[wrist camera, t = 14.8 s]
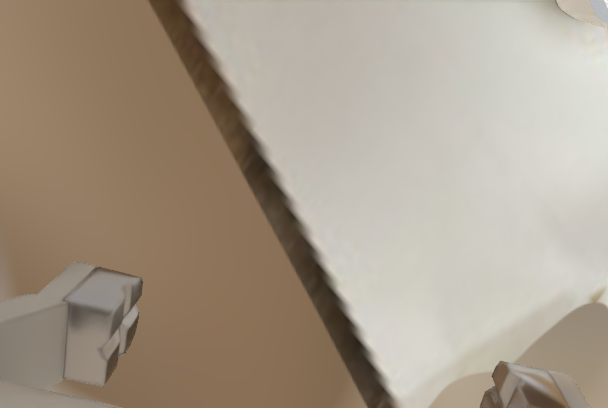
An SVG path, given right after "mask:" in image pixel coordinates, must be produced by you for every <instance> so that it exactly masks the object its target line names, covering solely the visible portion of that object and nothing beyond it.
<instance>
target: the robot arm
mask: <svg viewBox="0 0 608 408" xmlns="http://www.w3.org/2000/svg"><path fill="white" fill-rule="evenodd" d="M142 284H143V281H142V278H141V277H138V276H134V275H130V274H126V273H122V272H118V271H114V270H110V269H106V268H102V267H97V266H95V265H90V264H86V263H80V262H72V263H71V264H70V265H69V266H68V267H66V268H65V269H64V270H63V271H62V272H61V273H60V274H59V275H58V276H57V277H56V278H54V279H53V280H52V281H51V282H50V283H49V284H48V285H47V286H46V287H45V288H43V289H42V290H41V291H40V292H39V293H38V294H37V295H34V294H26V295H22V296H18V297H15V298H11V299H7V300H3V301H0V408H122V407H117V406H113V405H109V404H104V403H100V402H96V401H91V400H87V399H82V398H78V397H74V396H69V395H65V394H61V393H56V392H52V391H47V390H46V389H48V388H50V387H52V386H54V385H55V384H57V383H59V382H61V381H63V379H68V380H73V381H78V382H84V383H88V384H93V385H99V386H103V387H104V386H105V384H106V383H107V381H108V379H109V378H110V376H111V375H112V373H113V372H114V370H115V369H116V367H117V361H118V356H120V355H123V354H125V353H126V351H127V350H128V348H129V346H130V344H131V342H132V340H133V337H134V334H135V331H136V327H137V323H138V317H139V311H138V310H137V308H136V306H135V304H136V302H137V301H138V299H139V298H140V297H141V295H142ZM492 378H493V381H494V383H495V386H494V387H492V388H491V389H489V390H487V391H486V392H485V394H484V396H483V399H482V402H481V404H480V408H591V407H590V405H589V404H588V402H587V400H586V399H585V397H584V396H583V394H582V392H581V391H580V389H579V388H578V387H577V384H576V383H575V381H574V380H573V378H572V377H571V376H569V375H568V374H564V373H558V372H553V371H548V370H542V369H538V368H533V367H528V366H523V365H518V364H513V363H508V362H503V361H500V362H499V363H498V365H497V366H496V367H495V370H494V372H493V374H492Z"/></svg>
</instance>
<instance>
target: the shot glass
mask: <svg viewBox="0 0 608 408" xmlns="http://www.w3.org/2000/svg"><path fill="white" fill-rule="evenodd" d="M556 2H557V4H558V6H559V8H560V9H562V10H563V11H564V12H565V13H567V14H568V15H569V16H571V17H572V18H575V19H578V20H581V21H584V22H588V23H591V24H594V25H598V26H601V27H604V28H608V0H556Z"/></svg>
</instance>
